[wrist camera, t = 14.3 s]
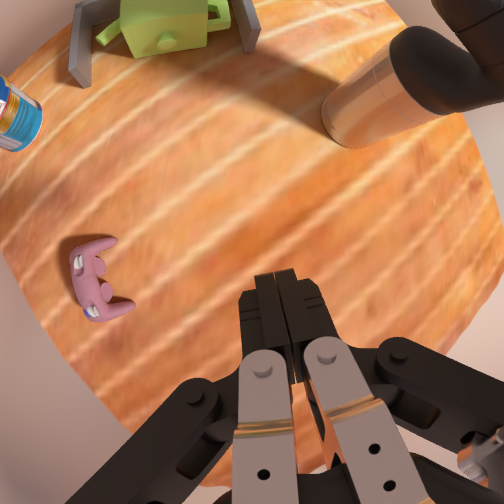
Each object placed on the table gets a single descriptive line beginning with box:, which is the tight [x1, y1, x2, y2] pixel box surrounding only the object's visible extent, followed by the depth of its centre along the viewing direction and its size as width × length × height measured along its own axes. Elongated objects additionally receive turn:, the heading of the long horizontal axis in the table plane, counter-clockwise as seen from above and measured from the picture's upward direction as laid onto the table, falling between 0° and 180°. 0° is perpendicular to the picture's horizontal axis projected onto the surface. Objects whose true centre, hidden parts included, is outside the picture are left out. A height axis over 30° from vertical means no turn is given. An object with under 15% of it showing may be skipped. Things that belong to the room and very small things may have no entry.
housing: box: [68, 0, 261, 88], centre depth 28 cm, size 24×14×7 cm, turn 102°
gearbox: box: [95, 0, 231, 58], centre depth 27 cm, size 18×10×10 cm, turn 99°
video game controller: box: [69, 237, 136, 322], centre depth 31 cm, size 10×5×7 cm, turn 14°
